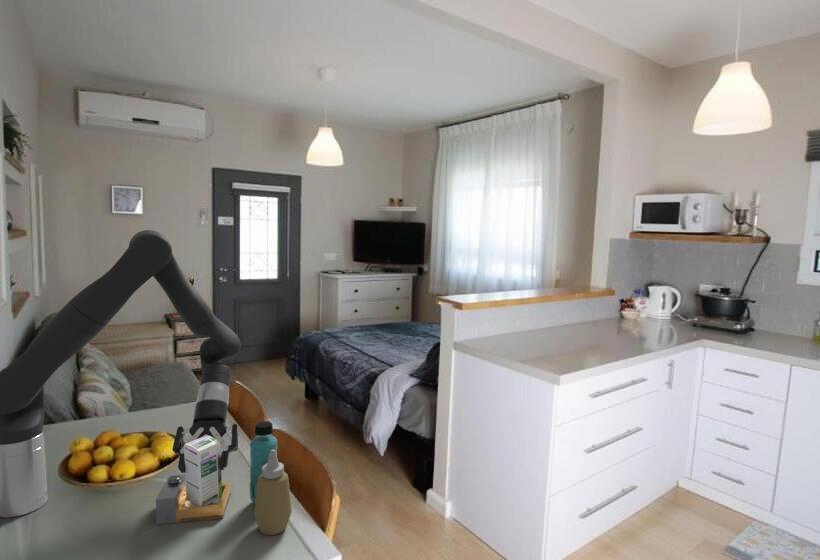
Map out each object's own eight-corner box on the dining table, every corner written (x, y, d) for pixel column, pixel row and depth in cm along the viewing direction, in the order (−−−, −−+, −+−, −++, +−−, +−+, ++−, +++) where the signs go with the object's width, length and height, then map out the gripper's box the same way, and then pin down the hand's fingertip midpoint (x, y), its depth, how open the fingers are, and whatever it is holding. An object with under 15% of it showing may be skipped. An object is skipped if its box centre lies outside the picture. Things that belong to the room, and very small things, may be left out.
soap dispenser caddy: (156, 524, 104) (155, 495, 104) (170, 498, 114) (169, 472, 113) (223, 518, 107) (222, 490, 106) (230, 494, 117) (230, 468, 116)
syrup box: (200, 509, 107) (199, 451, 104) (185, 499, 110) (183, 443, 108) (222, 497, 112) (221, 441, 109) (207, 487, 115) (205, 433, 112)
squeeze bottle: (281, 542, 100) (281, 462, 98) (247, 536, 101) (246, 457, 99) (298, 519, 108) (298, 444, 106) (265, 514, 109) (265, 440, 107)
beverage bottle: (243, 506, 112) (242, 426, 110) (262, 492, 118) (261, 416, 116) (266, 513, 109) (265, 431, 107) (283, 498, 116) (283, 421, 113)
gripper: (178, 399, 114) (165, 467, 104) (240, 396, 117) (232, 463, 107) (185, 411, 120) (173, 477, 110) (243, 408, 123) (236, 473, 113)
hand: (202, 470), depth 109 cm, fingers closed on syrup box, 8 cm apart
